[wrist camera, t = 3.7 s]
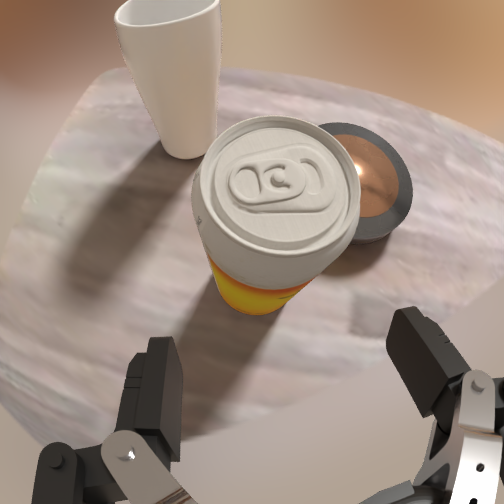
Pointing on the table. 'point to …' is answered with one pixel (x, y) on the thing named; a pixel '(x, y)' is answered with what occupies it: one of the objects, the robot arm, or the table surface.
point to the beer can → (273, 209)
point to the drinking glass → (175, 67)
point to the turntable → (375, 181)
